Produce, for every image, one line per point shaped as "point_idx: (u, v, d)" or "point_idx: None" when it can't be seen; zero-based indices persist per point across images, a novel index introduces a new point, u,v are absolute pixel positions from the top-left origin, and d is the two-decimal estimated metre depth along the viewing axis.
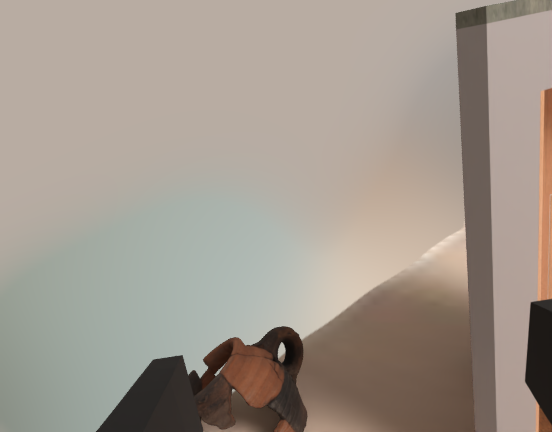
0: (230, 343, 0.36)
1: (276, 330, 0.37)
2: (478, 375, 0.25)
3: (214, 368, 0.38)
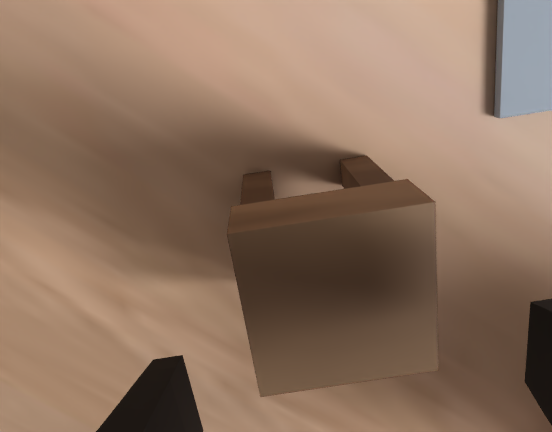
0: None
1: None
2: None
3: None
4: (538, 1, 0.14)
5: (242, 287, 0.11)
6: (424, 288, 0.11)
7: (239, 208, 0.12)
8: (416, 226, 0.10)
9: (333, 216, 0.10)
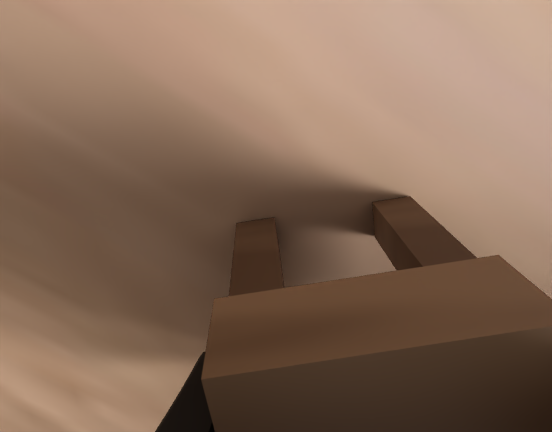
0: None
1: None
2: None
3: None
4: None
5: None
6: None
7: (226, 305, 0.07)
8: (540, 361, 0.06)
9: (392, 343, 0.06)
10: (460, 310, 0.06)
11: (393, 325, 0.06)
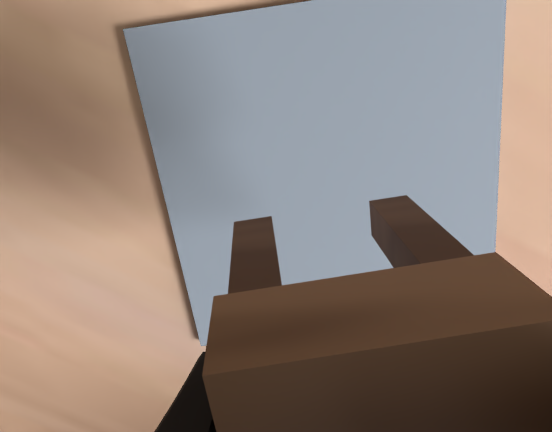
0: None
1: None
2: None
3: None
4: (210, 276, 0.19)
5: None
6: None
7: (226, 301, 0.07)
8: (538, 355, 0.06)
9: (393, 338, 0.06)
10: (459, 305, 0.06)
11: (393, 321, 0.06)
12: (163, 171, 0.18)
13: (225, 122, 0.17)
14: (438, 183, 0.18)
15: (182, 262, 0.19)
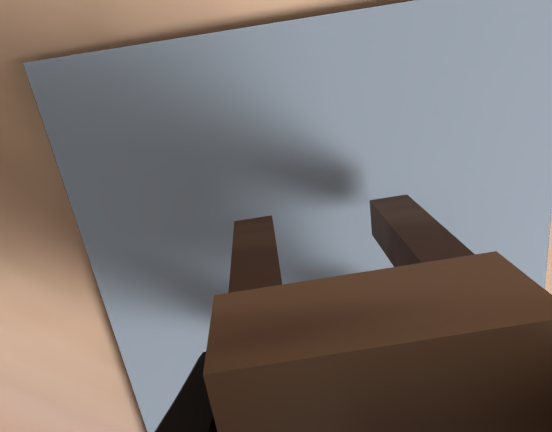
0: None
1: None
2: None
3: None
4: (164, 379, 0.15)
5: None
6: None
7: (226, 301, 0.07)
8: (539, 354, 0.06)
9: (394, 337, 0.06)
10: (460, 305, 0.06)
11: (394, 320, 0.06)
12: (94, 251, 0.13)
13: (175, 187, 0.12)
14: None
15: (127, 363, 0.14)
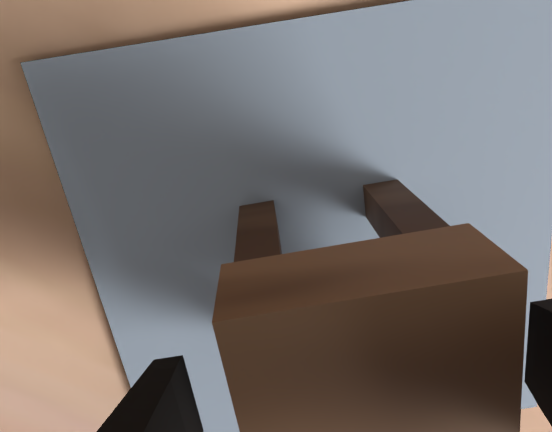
0: None
1: None
2: None
3: None
4: None
5: (237, 394, 0.07)
6: (504, 389, 0.08)
7: (232, 268, 0.08)
8: (497, 305, 0.07)
9: (372, 291, 0.07)
10: (431, 265, 0.07)
11: (374, 278, 0.07)
12: (92, 252, 0.13)
13: (174, 187, 0.12)
14: None
15: (126, 365, 0.14)
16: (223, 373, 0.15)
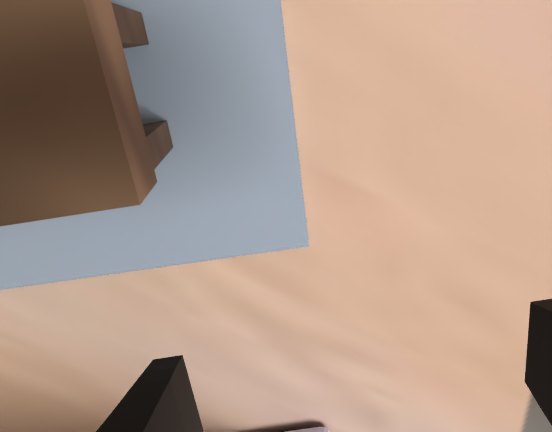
0: None
1: None
2: None
3: None
4: None
5: None
6: (95, 94, 0.10)
7: None
8: (63, 9, 0.09)
9: None
10: None
11: None
12: None
13: None
14: (219, 96, 0.16)
15: None
16: None
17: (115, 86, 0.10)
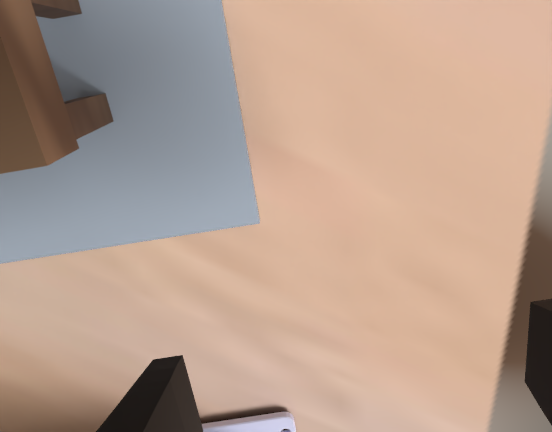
0: None
1: None
2: None
3: None
4: None
5: None
6: None
7: None
8: None
9: None
10: None
11: None
12: None
13: None
14: (158, 67, 0.15)
15: None
16: None
17: (15, 41, 0.10)
